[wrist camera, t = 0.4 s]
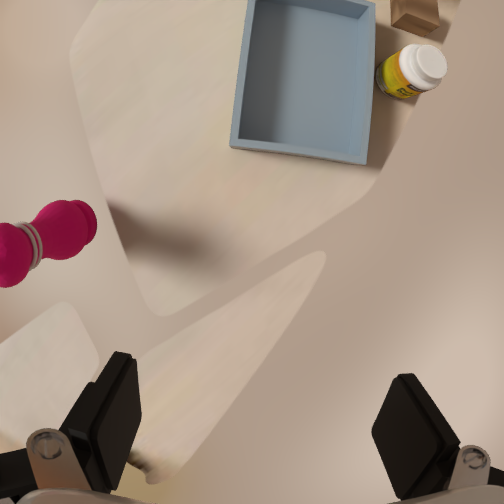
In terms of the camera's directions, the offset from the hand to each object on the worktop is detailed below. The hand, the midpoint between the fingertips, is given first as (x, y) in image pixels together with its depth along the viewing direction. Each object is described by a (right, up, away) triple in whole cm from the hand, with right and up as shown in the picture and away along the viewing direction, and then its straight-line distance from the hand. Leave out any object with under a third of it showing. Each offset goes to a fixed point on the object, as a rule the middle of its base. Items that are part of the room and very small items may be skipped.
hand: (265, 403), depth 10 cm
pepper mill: (-24, +9, +28) cm, 38 cm away
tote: (+6, +26, +24) cm, 36 cm away
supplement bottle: (+18, +27, +24) cm, 40 cm away
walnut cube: (+21, +38, +21) cm, 48 cm away
